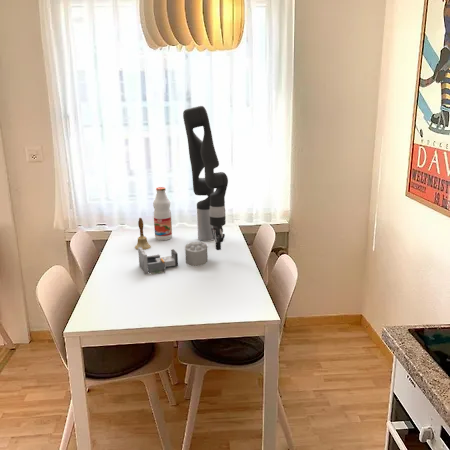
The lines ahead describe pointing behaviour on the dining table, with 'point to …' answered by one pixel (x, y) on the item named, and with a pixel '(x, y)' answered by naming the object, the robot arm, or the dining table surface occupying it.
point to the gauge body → (150, 263)
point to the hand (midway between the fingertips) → (218, 249)
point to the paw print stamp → (196, 253)
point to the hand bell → (142, 237)
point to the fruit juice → (162, 215)
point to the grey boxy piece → (169, 259)
